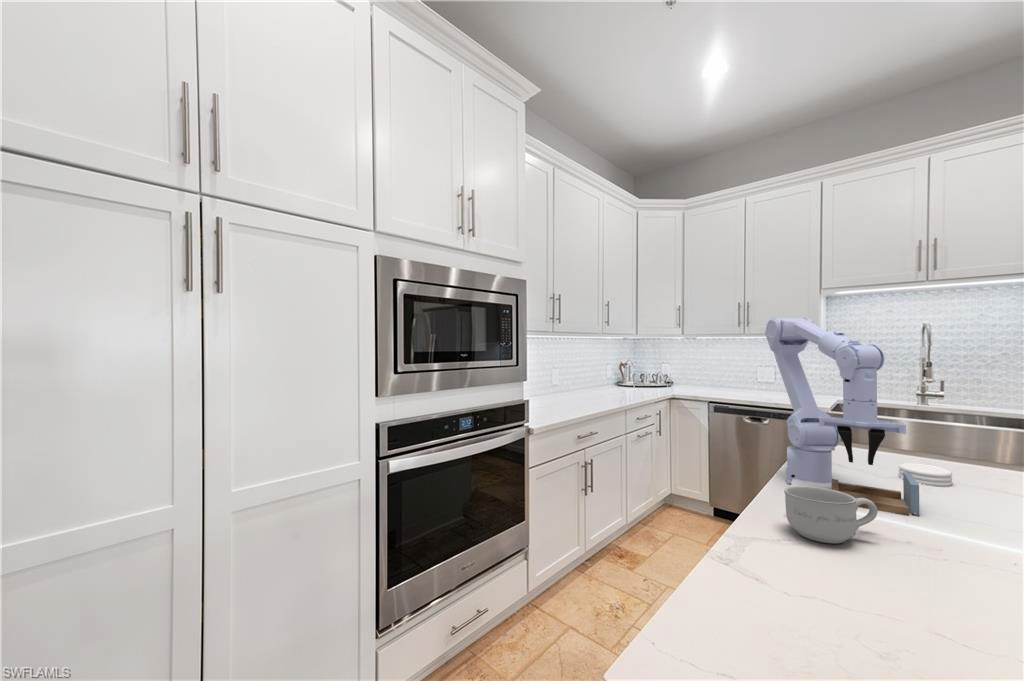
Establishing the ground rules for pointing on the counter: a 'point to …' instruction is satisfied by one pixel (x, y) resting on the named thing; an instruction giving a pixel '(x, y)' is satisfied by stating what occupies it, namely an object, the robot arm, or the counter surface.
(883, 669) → the counter surface
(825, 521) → the teacup
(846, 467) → the counter surface
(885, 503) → the wooden tray
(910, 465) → the coaster
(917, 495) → the tailgate
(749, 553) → the counter surface
